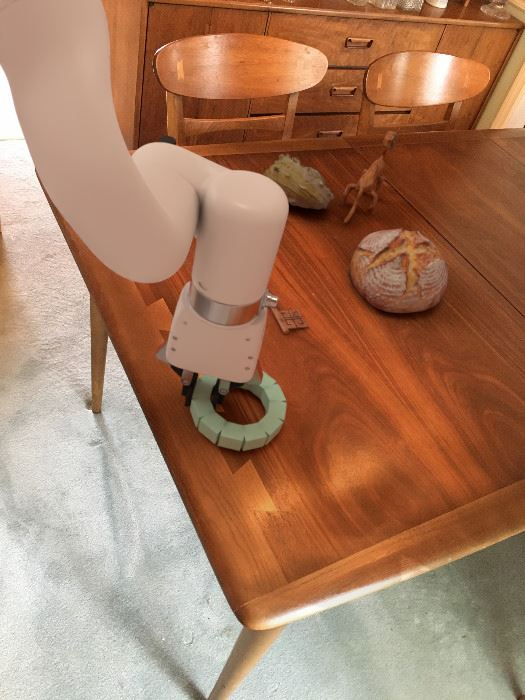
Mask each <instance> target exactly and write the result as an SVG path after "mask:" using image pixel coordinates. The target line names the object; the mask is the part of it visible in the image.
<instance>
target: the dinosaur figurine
mask: <svg viewBox="0 0 525 700" xmlns="http://www.w3.org/2000/svg"><path fill="white" fill-rule="evenodd" d="M400 131H401V127H399V128H398V130H397V131H393V130H389V131H387V132H386V134H385V136H384V138H383V141H382V147H383V150H382V152H381V156H380V157H379V158H377V159H376V160H374V161H372V163H371V164H370V166H369V168H368V169H367V168H364V169H362V175H361V177H360V178H359V180H358V181H357V182H350V183H348V184H347V185H346V186H345V188H344V192H343V195H342V202H343V204H344V205H345V204H346V203H347V201H348V196H349V195H350V193H351V192H352V191H353V190H355V191H356V192H358V193H357V196H356V198H355V201H354V203H353V205H352V207H351V209H350V211H349V213H348V214H347V216H346V217H345V218H344V220H343V222H344V223H345V224H347V223H348V222H349V221H350V219H351V218H352V217H353V215H354V213H355V212H356V209H357V208H358V205H359V203H360V200H361V199H362V195H365V196H368V197H370V198H371V201H370V205H369V207H368V209H367V215H371V214H372V213H373V211H374V209H375V206H376V204H377V203H378V201H379V195H378V194H379V193H380V190H381V189H382V188H381V187H382V186H383V182H385V180H386V177H385V176H383V175H382V174H383V172H384V170H385V168H386V164H385V163H386V162H385V161H384V159H385V157H386V156H387V151H389V150H392V149H394V148H395V143H396V141H397V140H398V138H397V137H398V135H399V133H400ZM375 183H376V184H375ZM374 185H375V187H374ZM373 188H374V189H373Z"/></svg>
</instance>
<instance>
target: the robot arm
mask: <svg viewBox="0 0 525 700" xmlns="http://www.w3.org/2000/svg"><path fill="white" fill-rule="evenodd" d="M0 67H1V69H2V71H3V72H4V75H5V77H6V79H7V82H8V85H9V89H10V93H11V96H12V102H13V107H14V110H15V114H16V118H17V120H18V123H19V126H20V129H21V132H22V135H23V137H24V140H25V143H26V146H27V149H28V151H29V154H30V157H31V161H32V163H33V165H34V168H35V169H36V170H35V171H36V174H37V176H38V177H39V179H40V181H41V184H42V186H43V188H44V190H45V192H46V193H47V195H48V197H49V198H50V200H51V202H52V204H53V205H54V206H55V207H56V209H57V211H58V212H59V213H60V215H61V216H62V217H63V218H64V220H65V221H66V222H67V223H68V225H69V226H70V227H71V228H72V230H73V231H74V232H75V234H76V235H77V236H78V237H79V238H80V240H81V241H82V243H84V245H85V246H86V247H87V248H88V249H89V251H90V252H91V253H92V254H93V255H94V256H95V257H96V259H98V260H99V261H100V262H101V263H102V264H103V265H104V266H106V267H107V268H108V269H110V270H111V271H112V272H114V273H115V274H116V275H118V276H120V277H122V278H124V279H126V280H129V281H132V282H134V283H140V284H156V283H160V282H163V281H165V280H167V279H170V278H171V277H172V276H173V275H175V274H176V273H177V272H178V271H179V270H180V269H181V267H182V266H183V265H184V263H185V261H186V259H187V256H188V255H189V252H190V250H191V246H192V243H193V239H194V238H195V240H196V243H195V250H194V255H193V262H192V268H191V274H190V281H187V282H186V283H185V284H184V286H183V287H182V290H181V292H180V294H179V297H178V300H177V303H176V306H175V310H174V313H173V317H172V321H171V326H170V329H169V334H168V337H167V338H166V339H165V340H164V341H163V342H162V343H161V344H160V345H158V348H157V350H156V351H155V355H154V356H155V358H156V359H157V360H159V361H161V362H162V363H164V364H165V365H167V366H170V368H171V370H172V371H173V372H174V373H175V374H176V375H177V376H178V377H179V378H180V383H181V384H182V388H181V393H180V395H181V396H182V397H185V401H184V405H183V406H184V407H185V408H190V405H191V400H192V396H193V392H194V389H195V386H196V382H197V380H198V378H199V374H200V375H203V374H204V375H208V376H212V377H215V378H217V381H216V385H215V389H214V393H213V395H212V396H211V399H210V400H211V403H212V406H213V408H214V411H215V412H216V408H217V405H219V406H223V404H224V400H225V396H226V395H229V392H230V391H232V390H235V389H240V388H239V387H242V386H243V385H244V384H246V385H260V384H261V383H262V379H263V372H264V371H263V369H262V366H261V363H260V359H259V357H260V353H261V350H262V346H263V340H264V338H265V337H264V336H265V332H266V326H267V320H268V319H267V318H268V308H270V309H271V308H273V309H275V308H277V305H278V301H279V295H276V294H272V292H269V290H270V288H268V285H269V282H270V278H271V275H272V272H273V268H274V265H275V261H276V258H277V255H278V252H279V248H280V245H281V241H282V239H283V234H284V231H285V228H286V224H287V220H288V216H289V212H290V211H289V210H290V209H289V207H290V205H289V202H288V199H287V197H286V195H285V193H284V191H283V190H282V188H281V187H280V186H279V185H278V184H276V183H275V182H274V181H273V180H271V179H270V178H268V177H266V176H263V175H261V174H262V173H259V172H255V171H250V170H243V169H241V170H240V169H235V170H234V169H231V168H227V167H225V166H224V165H220V164H219V163H216V162H214V161H212V160H210V159H207V158H205V157H204V156H201V155H199V154H197V153H195V152H193V151H191V150H188V149H186V148H184V147H182V146H179V145H177V144H176V145H173V144H169V143H164V142H160V141H153V142H150V143H146V144H143V145H142V146H140V147H139V148H137V149H136V150H134V152H133V153H132V154H131V153H130V151H129V149H128V146H127V144H126V142H125V138H124V136H123V134H122V130H121V127H120V124H119V120H118V117H117V112H116V108H115V104H114V97H113V96H114V95H113V90H112V78H111V77H112V75H111V73H112V71H111V70H112V69H111V38H110V29H109V23H108V18H107V14H106V10H105V7H104V5H103V2H102V0H0ZM262 371H263V372H262Z"/></svg>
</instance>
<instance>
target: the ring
mask: <svg viewBox="0 0 525 700" xmlns="http://www.w3.org/2000/svg"><path fill="white" fill-rule="evenodd" d="M262 372H263V379H262V383H261V384H260V385H246V384H244V385H243V386H242V387H239V388H238V389H243V390H247V391H249V392H251V393H252V394H253V395H254V396H256V397H257V398H259V399H260V401H261V404H262V406H263V408H264V410H265V415H264V416H263V417H262V418H261V419H260V420H259V421H258V422H253V423H248V424H239V423H236V422H231V421H227V420H226V419H225V418H223V417H222V416H221V415H220V414H219V413H217V412H216V410H215V411H214V408H213V406H212V403H211V400H212V396H213V393H214V389H215V385H216V381H217V378H215V377H212V376H208V375H204V374H201V375H200V376H198V379H197V382H196V386H195V389H194V392H193V396H192V400H191V405H190V406H189V411H190V415H191V418H192V420H193V423H194V426H195V428H197V431H198V432H199V433H200V434H202V435H203V436H204V437H205V438H206V439H207V440H209V441H210V442H211V443H212V444H213V445H215V444H217V447H220V448H226V449H230V450H234V451H238V452H240V451H241V450H242V451H243V452H245V451H250V450H253V449H259V448H262V447H264V446H265V445H266V446H267V445H268V444H270V442H271V441H272V440H273V439H274V438H275V437H276V436H277V435H278V434H279V433H280V431H281V429H282V428H283V424H284V423H285V420H286V413H287V407H288V402H287V399H286V396H285V394H284V392H283V390H282V388H281V386H280V384H279V383H277V381H276V380H275V379H274V378H273V377H272V376H270V375H269V374H267V373H266V372H265V371H263V370H262Z"/></svg>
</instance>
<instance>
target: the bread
mask: <svg viewBox="0 0 525 700" xmlns="http://www.w3.org/2000/svg"><path fill="white" fill-rule="evenodd" d="M359 242H360V243H359V244H358V245H356V249H355V250H354V252H353V254H352V256H351V260H350V264H349V272H350V280H351V282H352V285H353V286H354V288H355V289H356V290H357V293H358V294H359V295H360V296H362V298H364V299H365V300H366V301H367V302H368V303H369V305H371V306H372V307H373V308H375V309H377V310H380V311H383V312H386V313H393V314H410V313H421V312H425V311H427V310H430V309H433V308H435V307H436V306H437V305H439V304H440V303H441V301H442V299H443V296H444V294H445V292H446V290H447V286H448V280H449V279H448V278H449V275H448V274H449V273H448V267H447V266H448V265H447V263H446V260H445V258H444V257H443V255H442V254H441V252H440V249H438V248H437V246H435V244H434V243H433V242H432V241H431V240H430V239H428V238H427V237H425V236H424V235H423V234H421V233H420V231H419V230H411V231H410V230H407V229H405V228H403V227H402V228H394V229H393V228H391V229H383V230H379V231H378V230H377V231H375V232H371V233H369V234H368V235H366V236H365V237H364V238H363V239H361V240H360V241H359Z"/></svg>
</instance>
